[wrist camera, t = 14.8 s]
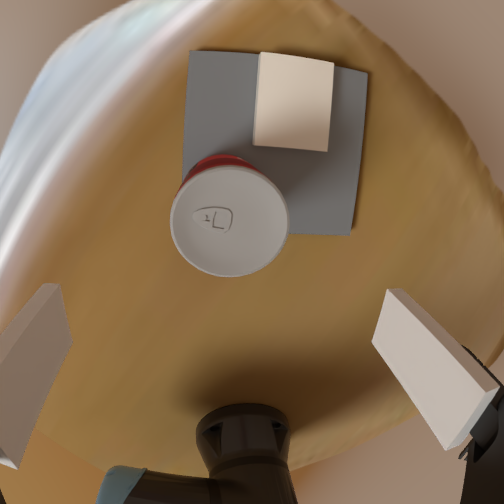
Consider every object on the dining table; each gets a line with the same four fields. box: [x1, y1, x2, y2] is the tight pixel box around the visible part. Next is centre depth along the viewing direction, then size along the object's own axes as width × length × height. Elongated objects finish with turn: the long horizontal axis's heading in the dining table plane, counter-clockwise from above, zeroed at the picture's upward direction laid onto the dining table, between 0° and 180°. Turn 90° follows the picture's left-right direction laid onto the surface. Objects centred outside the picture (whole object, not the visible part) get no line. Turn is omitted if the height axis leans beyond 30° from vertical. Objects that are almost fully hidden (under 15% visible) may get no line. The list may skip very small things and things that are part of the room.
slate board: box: [182, 51, 368, 236], centre depth 30 cm, size 18×18×1 cm
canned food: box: [170, 154, 290, 277], centre depth 26 cm, size 8×8×11 cm
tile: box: [252, 52, 334, 152], centre depth 28 cm, size 2×7×9 cm
